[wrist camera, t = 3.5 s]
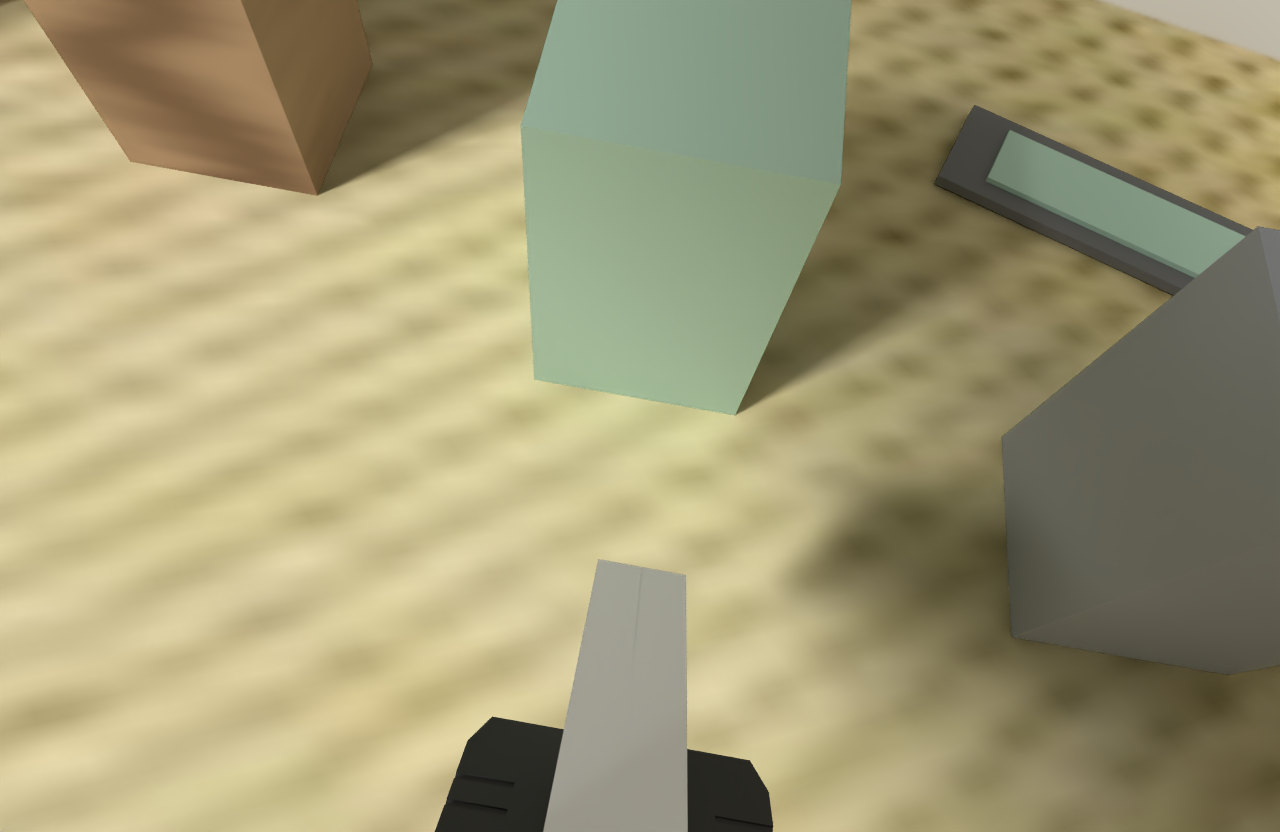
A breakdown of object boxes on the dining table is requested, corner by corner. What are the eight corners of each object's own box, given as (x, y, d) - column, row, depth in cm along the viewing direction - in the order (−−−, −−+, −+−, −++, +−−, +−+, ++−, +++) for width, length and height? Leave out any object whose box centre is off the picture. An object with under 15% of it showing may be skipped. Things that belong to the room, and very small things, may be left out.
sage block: (534, 379, 24) (520, 125, 15) (572, 219, 27) (580, -79, 18) (734, 415, 24) (841, 183, 15) (753, 252, 27) (852, -27, 18)
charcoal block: (1011, 637, 22) (1325, 522, 13) (1001, 436, 25) (1258, 226, 16) (1227, 675, 22) (1688, 587, 13) (1195, 471, 25) (1560, 281, 16)
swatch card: (934, 183, 29) (941, 171, 28) (969, 113, 30) (977, 100, 30) (1268, 339, 27) (1282, 330, 27) (1285, 255, 29) (1300, 245, 28)
